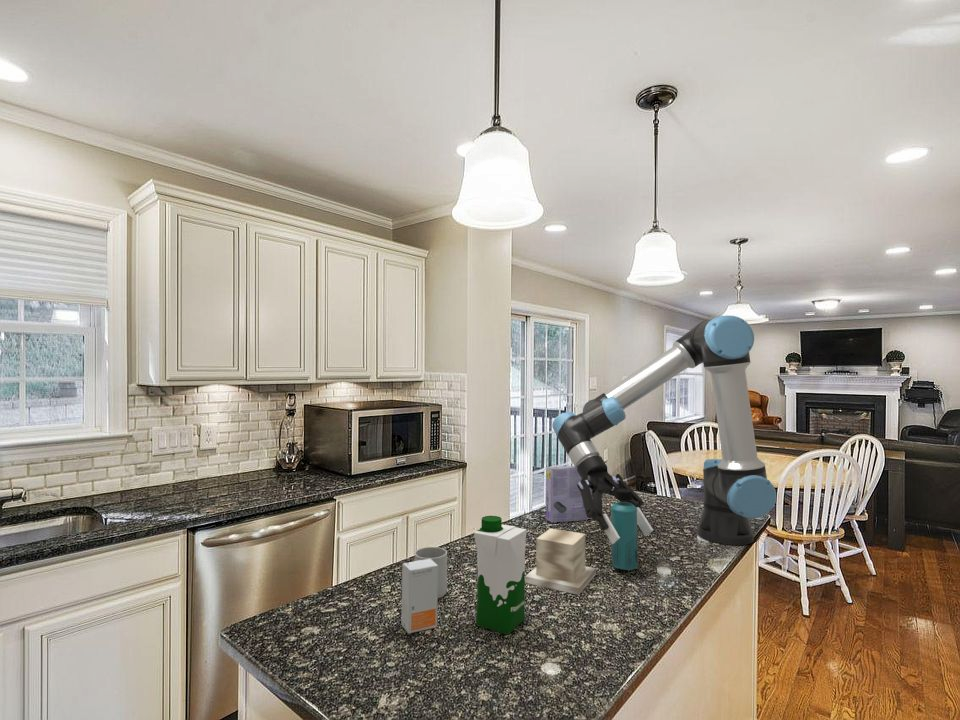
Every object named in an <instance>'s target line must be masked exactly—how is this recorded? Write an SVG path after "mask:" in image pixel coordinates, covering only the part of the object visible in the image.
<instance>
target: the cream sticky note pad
mask: <svg viewBox="0 0 960 720" xmlns="http://www.w3.org/2000/svg"><path fill="white" fill-rule="evenodd" d="M535 543H536V544H535V545H536V546H535V547H536V550H535V551H536V553H535V556H536V558H535V559H536V561H535V563H536V564H535V567H534V568H533V569H532V570H531V571H529V573H527V574H526V575H525V584H528V585H533V586H538V587H541V588H546V589H550V590H554V591H559V592H560V591H561V592H563V593H568V594H569V593H570V594H573V595H577V596H578V595H579V596H580V594H581V593H582V592H583V591H584V590H585V588H587V586H588V585H589V584H590V583H591V581H592V580H593V578H595V576H596V575H597V568H596V567H591V566H586V533H582V532H576V531H570V530H563V529H558V528H557V529H556V528H551V527H550V528H549V529H547V530H546V531H544V533H541V534H540V535H539V536H538V537H536V541H535Z"/></svg>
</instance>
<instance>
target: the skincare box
mask: <svg viewBox="0 0 960 720" xmlns="http://www.w3.org/2000/svg"><path fill="white" fill-rule="evenodd" d="M401 567H402V570H401V571H402V573H401V577H402V578H401V616H400V617H401V621H400V622H401V626H402V628H403V629H404V630H405V631H406V633H407V634H408V635H409V634H412V633H418V632H421V631H426V630H429V629H430V630H431V629H436V628H437V627H438V599H439V598H438V565H437V564H436V563H435V562H433V561H432V560H431V559H426V560H418V561H415V560H413V561H410V562H403V563H402V565H401Z"/></svg>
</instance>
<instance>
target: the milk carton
mask: <svg viewBox="0 0 960 720" xmlns="http://www.w3.org/2000/svg"><path fill="white" fill-rule="evenodd" d="M502 520H503V519H502V517H501V516H498V515H485V516H483V517H482V516H481V527H480V528H479V529H477V530H476V531H474V532H473V536H474V541H475V547H476V551H477V553H476V554H477V557H476V558H477V559H476V560H477V562H476V564H477V565H476V568H477V569H476V572H477V573H476V577H477V578H476V579H477V580H476V581H477V582H476V586H477V587H476V594H477V595H476V611H475V612H476V613H475V614H476V616H475V617H476V618H475V625H476V626H477V627H478V626H479V627H482V628H484V629H488V630H491V631H495V632H498V633H500V634H504V635H507V636H508V635H509V634H510V633H512V632H513V631H514V630H515V629H516V628H517V627H518V626H520V625H521V624H522V622H524V621H525V619H526V617H525V615H526V614H525V613H526V612H525V611H526V609H525V606H526V605H525V604H526V603H525V602H526V601H525V600H526V598H525V597H526V594H525V593H526V590H525V589H526V586H525V585H526V583H525V576H526V575H525V574H526V571H525V567H526V565H525V564H526V562H525V561H526V555H525V554H526V542H527V529H526V528H520V527H516V526H515V525H508V524H503V523H502V522H503V521H502Z"/></svg>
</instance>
